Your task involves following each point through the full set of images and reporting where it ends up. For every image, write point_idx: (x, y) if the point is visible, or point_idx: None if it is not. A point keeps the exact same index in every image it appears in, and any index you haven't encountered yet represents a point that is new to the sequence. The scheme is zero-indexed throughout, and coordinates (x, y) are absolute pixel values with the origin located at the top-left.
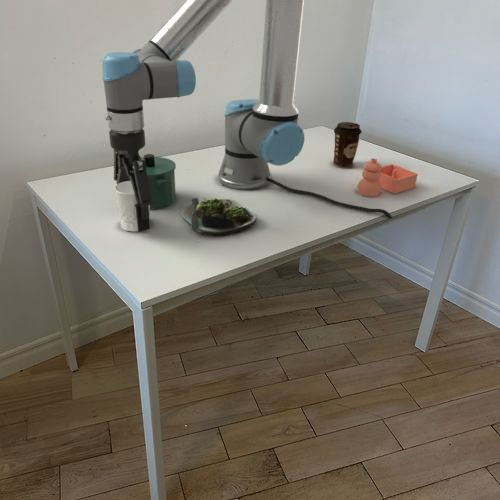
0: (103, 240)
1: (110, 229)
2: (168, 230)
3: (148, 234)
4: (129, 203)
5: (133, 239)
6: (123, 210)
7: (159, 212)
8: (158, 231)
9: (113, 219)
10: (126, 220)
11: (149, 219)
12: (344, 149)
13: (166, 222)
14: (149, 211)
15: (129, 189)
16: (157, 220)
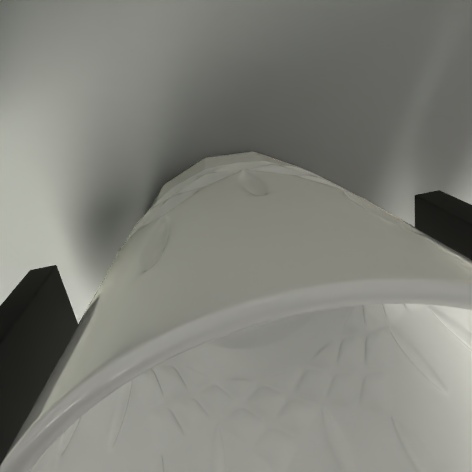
0: None
1: None
2: (410, 28)
3: (400, 190)
4: (470, 470)
5: None
6: (365, 440)
7: (45, 10)
8: (390, 112)
9: None
10: (331, 357)
11: (264, 157)
12: None
13: (268, 2)
14: (287, 169)
15: (68, 466)
16: (206, 72)
